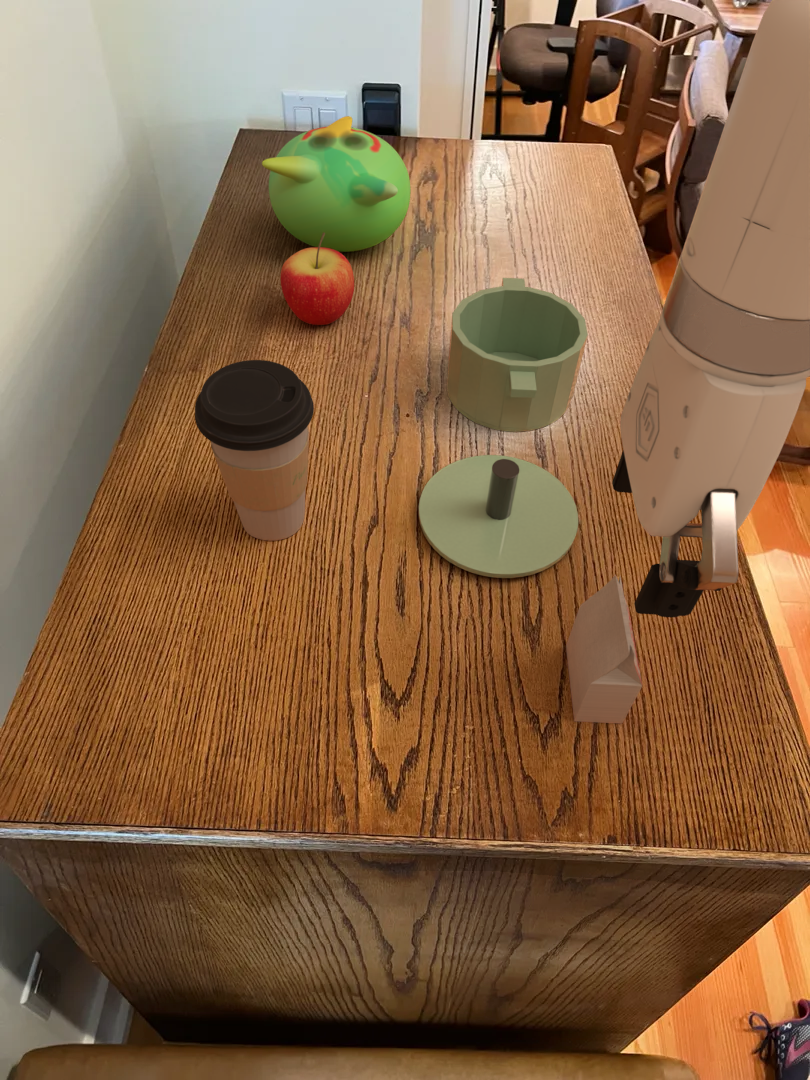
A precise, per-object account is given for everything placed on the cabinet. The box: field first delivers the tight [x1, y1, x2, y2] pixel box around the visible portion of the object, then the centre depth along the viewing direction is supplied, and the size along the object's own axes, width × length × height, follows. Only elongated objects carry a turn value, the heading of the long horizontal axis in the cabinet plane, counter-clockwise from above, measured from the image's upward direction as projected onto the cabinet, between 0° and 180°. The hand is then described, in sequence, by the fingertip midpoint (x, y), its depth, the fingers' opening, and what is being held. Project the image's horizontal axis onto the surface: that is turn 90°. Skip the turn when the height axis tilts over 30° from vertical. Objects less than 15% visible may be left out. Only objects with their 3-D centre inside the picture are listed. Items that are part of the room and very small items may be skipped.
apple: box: [280, 232, 355, 326], centre depth 88 cm, size 8×8×10 cm
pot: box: [446, 277, 589, 433], centre depth 81 cm, size 14×19×8 cm
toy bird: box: [261, 115, 412, 253], centre depth 97 cm, size 18×17×15 cm
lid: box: [418, 454, 579, 579], centre depth 69 cm, size 15×15×7 cm
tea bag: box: [565, 574, 643, 724], centre depth 57 cm, size 4×7×10 cm, turn 178°
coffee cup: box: [194, 359, 315, 542], centre depth 66 cm, size 9×9×15 cm
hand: (647, 546), depth 48 cm, fingers open, 9 cm apart
